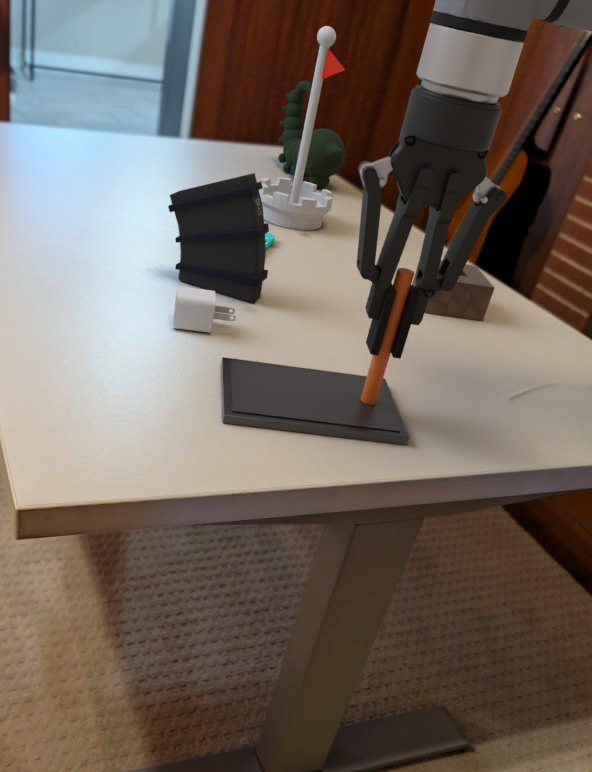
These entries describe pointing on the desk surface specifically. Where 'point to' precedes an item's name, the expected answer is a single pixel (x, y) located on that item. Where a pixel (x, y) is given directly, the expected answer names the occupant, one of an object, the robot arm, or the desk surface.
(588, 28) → the robot arm
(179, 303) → the usb wall charger
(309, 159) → the toy figurine
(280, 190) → the flag stand
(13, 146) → the desk surface
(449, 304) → the pen stand
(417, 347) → the desk surface
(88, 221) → the desk surface
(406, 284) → the orange rod
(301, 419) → the tablet
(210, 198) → the magazine
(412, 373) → the desk surface
